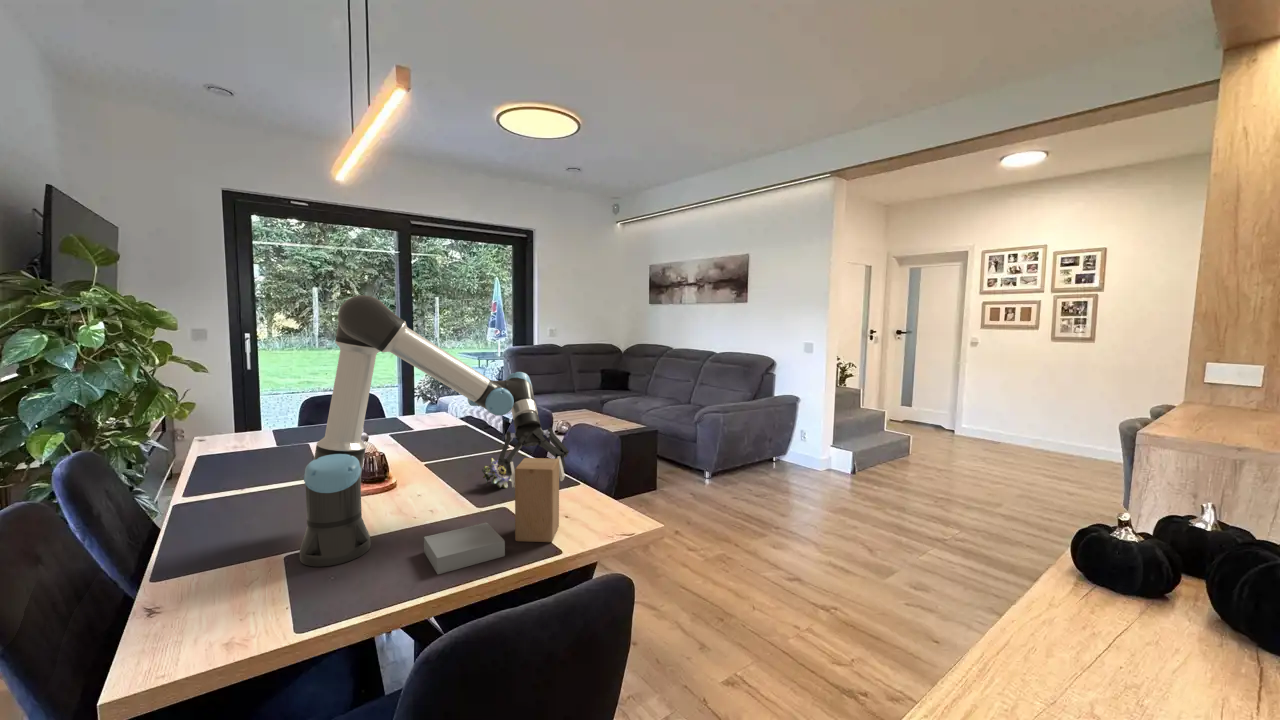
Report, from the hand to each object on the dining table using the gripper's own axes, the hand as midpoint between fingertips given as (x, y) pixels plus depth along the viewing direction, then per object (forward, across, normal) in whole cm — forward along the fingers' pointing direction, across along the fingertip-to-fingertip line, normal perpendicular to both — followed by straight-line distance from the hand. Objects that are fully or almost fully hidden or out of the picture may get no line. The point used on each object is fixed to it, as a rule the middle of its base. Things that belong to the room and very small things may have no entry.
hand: (539, 482), depth 140 cm
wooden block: (+12, +1, -7) cm, 14 cm away
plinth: (+14, +21, -4) cm, 26 cm away
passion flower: (-18, +4, -38) cm, 42 cm away
